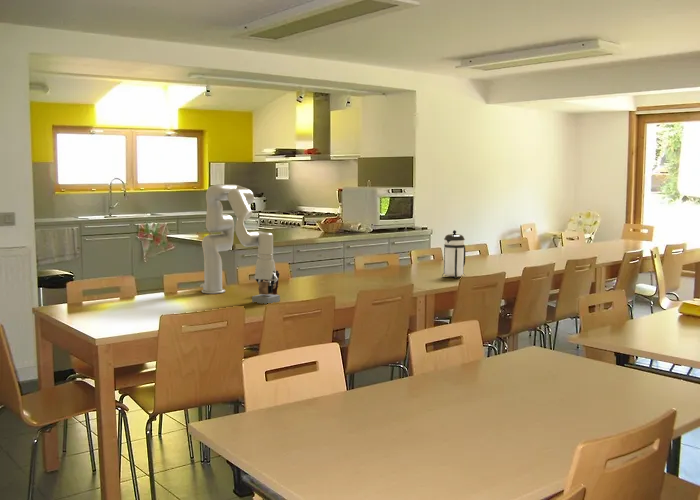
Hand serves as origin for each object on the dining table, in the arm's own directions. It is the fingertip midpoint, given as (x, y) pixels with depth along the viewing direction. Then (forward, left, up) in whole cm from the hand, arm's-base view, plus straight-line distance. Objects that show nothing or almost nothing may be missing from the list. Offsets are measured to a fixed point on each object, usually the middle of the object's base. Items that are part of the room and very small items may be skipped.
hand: (265, 292), depth 364 cm
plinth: (0, 0, -5) cm, 5 cm away
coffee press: (+47, +135, -5) cm, 143 cm away
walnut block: (0, 0, -1) cm, 1 cm away
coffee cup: (-10, +18, -5) cm, 21 cm away
